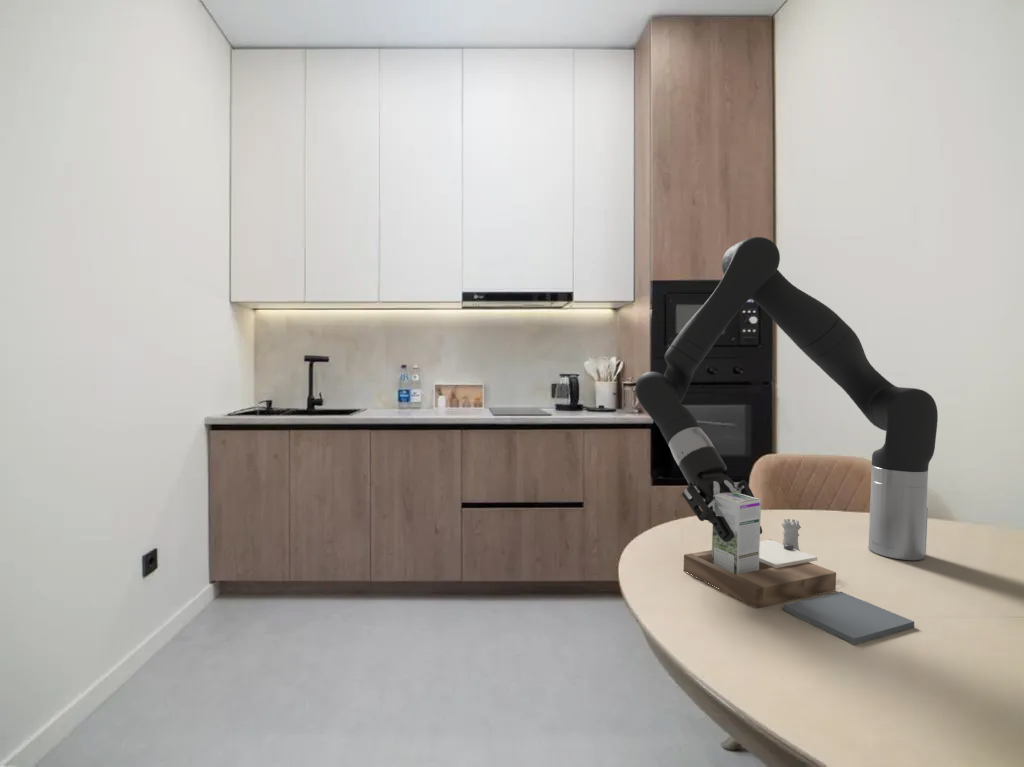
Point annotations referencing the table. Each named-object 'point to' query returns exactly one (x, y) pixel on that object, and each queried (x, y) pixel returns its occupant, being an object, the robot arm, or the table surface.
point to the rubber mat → (848, 617)
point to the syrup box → (738, 533)
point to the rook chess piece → (791, 533)
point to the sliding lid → (782, 554)
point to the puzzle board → (763, 580)
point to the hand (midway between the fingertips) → (743, 537)
